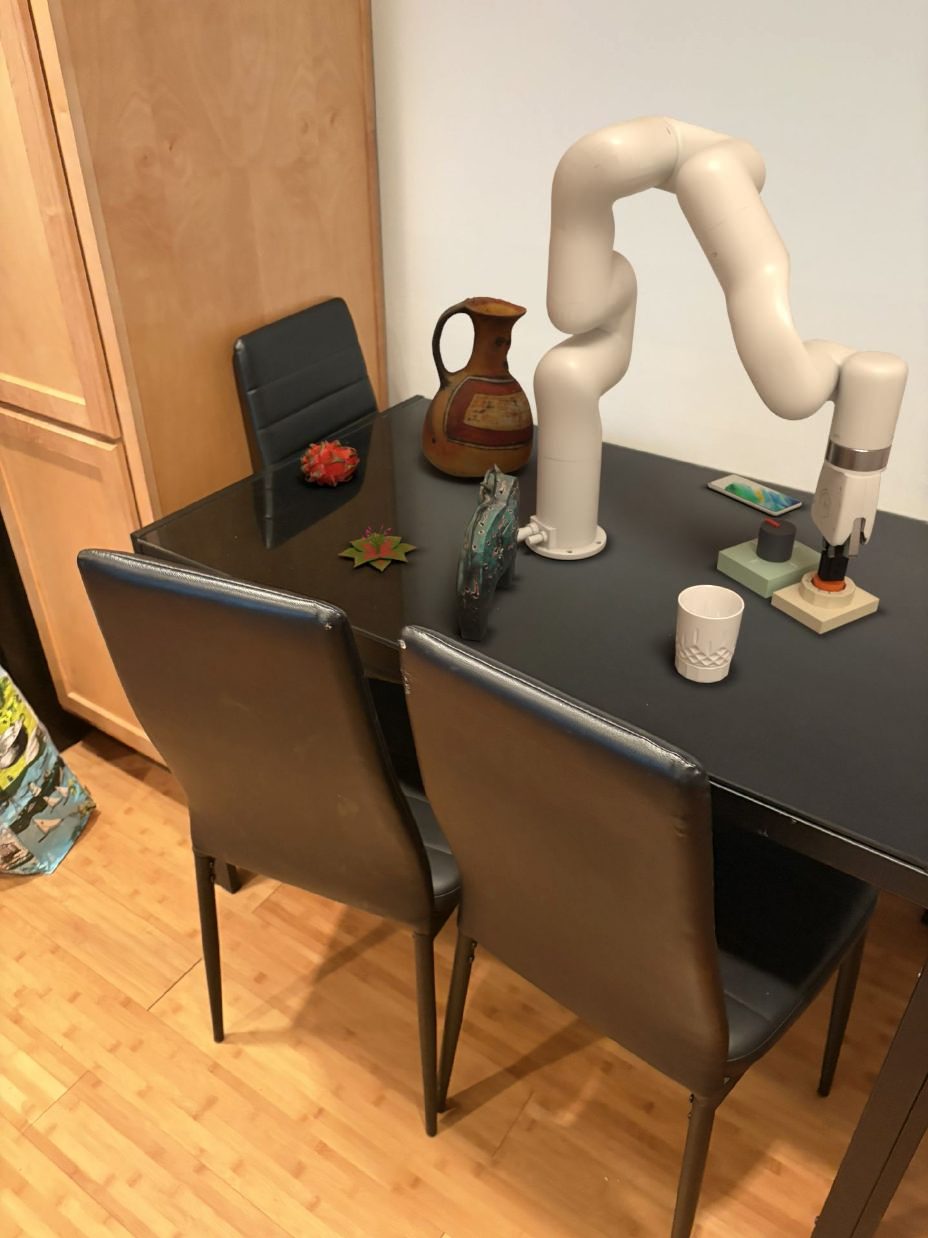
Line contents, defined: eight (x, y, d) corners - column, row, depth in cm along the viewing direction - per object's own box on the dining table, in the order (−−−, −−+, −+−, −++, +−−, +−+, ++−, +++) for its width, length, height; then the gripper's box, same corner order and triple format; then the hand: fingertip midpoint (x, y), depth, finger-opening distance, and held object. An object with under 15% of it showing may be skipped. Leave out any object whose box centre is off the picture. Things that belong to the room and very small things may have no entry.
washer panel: (765, 598, 137) (768, 579, 135) (716, 568, 144) (719, 550, 142) (825, 575, 142) (829, 556, 140) (775, 548, 149) (778, 529, 147)
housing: (820, 634, 129) (825, 609, 127) (770, 604, 136) (775, 579, 133) (876, 611, 134) (882, 586, 131) (826, 583, 140) (831, 558, 138)
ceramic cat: (487, 569, 146) (487, 444, 135) (529, 574, 144) (532, 449, 133) (448, 640, 130) (443, 505, 119) (494, 647, 128) (494, 511, 117)
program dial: (798, 557, 141) (804, 527, 138) (773, 565, 139) (778, 536, 136) (774, 543, 144) (779, 514, 142) (748, 551, 142) (753, 522, 140)
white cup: (663, 652, 126) (670, 586, 121) (722, 648, 127) (732, 582, 121) (679, 688, 120) (688, 620, 114) (742, 684, 120) (753, 616, 115)
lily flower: (373, 529, 157) (371, 504, 155) (432, 549, 151) (431, 523, 149) (323, 560, 149) (320, 533, 146) (383, 582, 143) (381, 554, 140)
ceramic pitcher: (535, 489, 169) (539, 316, 152) (420, 491, 169) (411, 318, 153) (530, 445, 185) (533, 285, 169) (425, 447, 185) (418, 287, 169)
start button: (828, 599, 131) (830, 588, 130) (805, 586, 134) (807, 575, 133) (848, 591, 132) (851, 580, 131) (826, 578, 135) (828, 567, 134)
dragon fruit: (297, 497, 171) (357, 489, 178) (314, 484, 164) (376, 476, 171) (286, 451, 172) (346, 445, 178) (303, 435, 165) (365, 430, 171)
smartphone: (733, 472, 171) (803, 501, 160) (733, 477, 171) (803, 506, 161) (705, 482, 167) (775, 513, 157) (705, 487, 168) (774, 517, 157)
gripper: (809, 431, 128) (787, 552, 138) (847, 478, 116) (819, 607, 126) (866, 429, 128) (839, 551, 138) (910, 477, 116) (877, 606, 126)
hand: (830, 578), depth 132 cm, fingers closed
